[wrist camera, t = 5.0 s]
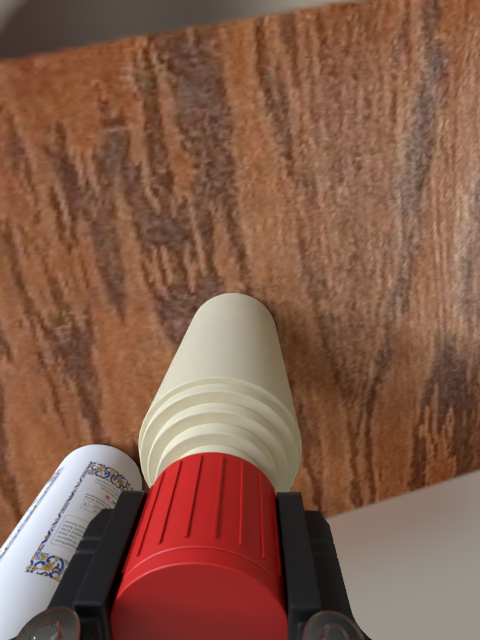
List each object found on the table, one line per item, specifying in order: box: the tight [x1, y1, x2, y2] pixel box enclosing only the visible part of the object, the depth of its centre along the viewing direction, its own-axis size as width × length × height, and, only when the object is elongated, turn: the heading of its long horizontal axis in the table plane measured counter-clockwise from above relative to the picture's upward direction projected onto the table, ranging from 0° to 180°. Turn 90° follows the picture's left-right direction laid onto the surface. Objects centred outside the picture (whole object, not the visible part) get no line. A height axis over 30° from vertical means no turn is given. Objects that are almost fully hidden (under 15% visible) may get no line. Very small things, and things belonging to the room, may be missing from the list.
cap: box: [110, 452, 288, 640], centre depth 10 cm, size 4×4×4 cm
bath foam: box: [0, 445, 142, 640], centre depth 22 cm, size 7×7×20 cm
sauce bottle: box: [139, 293, 302, 496], centre depth 19 cm, size 6×6×20 cm
